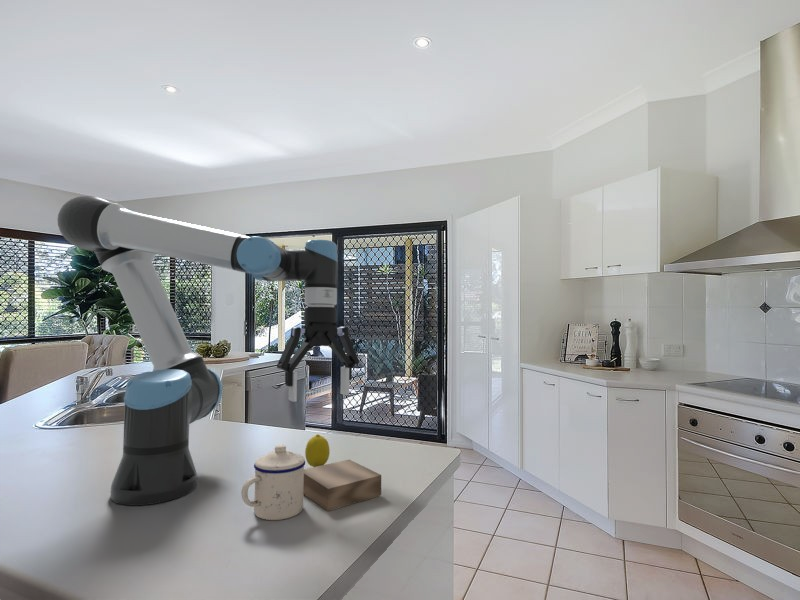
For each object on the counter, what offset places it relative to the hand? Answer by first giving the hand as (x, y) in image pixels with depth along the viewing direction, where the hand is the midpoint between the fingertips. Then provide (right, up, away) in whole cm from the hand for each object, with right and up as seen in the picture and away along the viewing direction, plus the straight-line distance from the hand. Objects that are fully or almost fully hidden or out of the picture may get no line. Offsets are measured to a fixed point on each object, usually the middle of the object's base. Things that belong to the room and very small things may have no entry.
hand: (319, 397), depth 104 cm
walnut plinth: (+7, -16, -14) cm, 22 cm away
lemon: (0, -17, -1) cm, 17 cm away
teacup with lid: (-4, -16, -24) cm, 29 cm away
